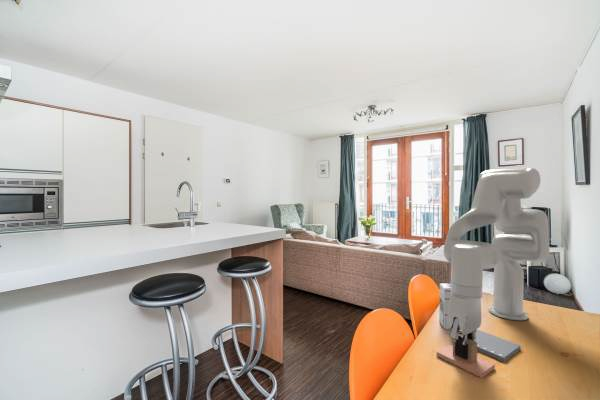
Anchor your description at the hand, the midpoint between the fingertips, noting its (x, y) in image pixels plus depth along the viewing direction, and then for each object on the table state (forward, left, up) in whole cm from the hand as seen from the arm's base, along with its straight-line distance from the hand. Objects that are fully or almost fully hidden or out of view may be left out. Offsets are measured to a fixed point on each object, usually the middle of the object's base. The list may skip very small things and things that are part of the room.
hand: (464, 354), depth 79 cm
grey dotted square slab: (-15, 0, -2) cm, 16 cm away
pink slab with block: (0, 0, -2) cm, 2 cm away
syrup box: (-18, -14, -2) cm, 23 cm away
